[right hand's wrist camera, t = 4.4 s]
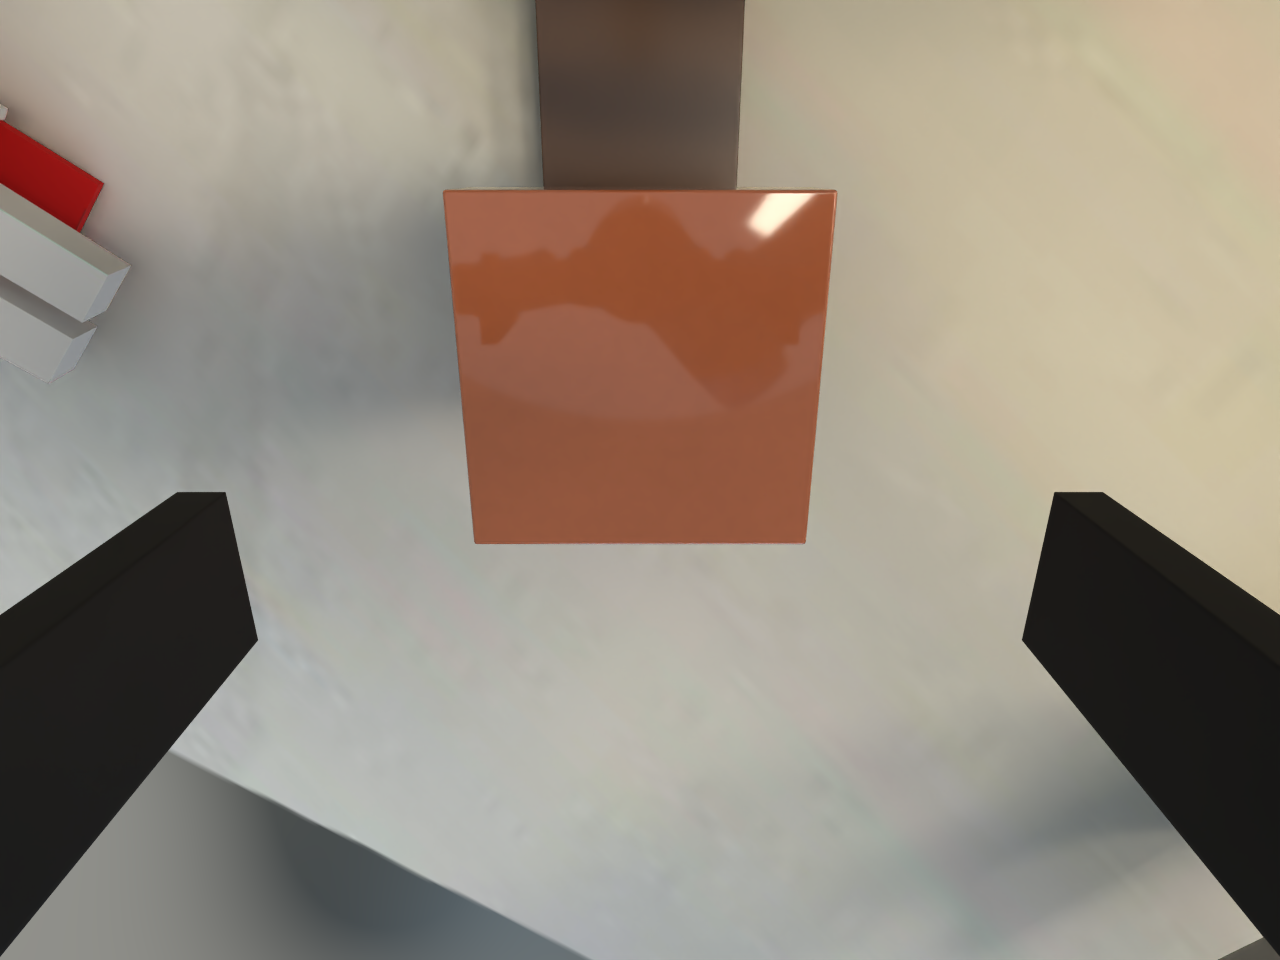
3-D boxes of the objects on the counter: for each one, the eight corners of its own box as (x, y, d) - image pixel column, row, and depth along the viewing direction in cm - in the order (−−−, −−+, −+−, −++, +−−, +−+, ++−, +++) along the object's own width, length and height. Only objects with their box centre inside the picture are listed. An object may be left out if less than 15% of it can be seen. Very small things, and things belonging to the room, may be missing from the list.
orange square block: (477, 186, 26) (441, 189, 21) (802, 185, 26) (838, 189, 21) (499, 486, 30) (473, 544, 25) (780, 486, 30) (806, 545, 25)
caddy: (525, -326, 30) (443, -679, 18) (755, -326, 30) (837, -679, 18) (556, 410, 41) (520, 514, 29) (723, 410, 41) (759, 514, 29)
